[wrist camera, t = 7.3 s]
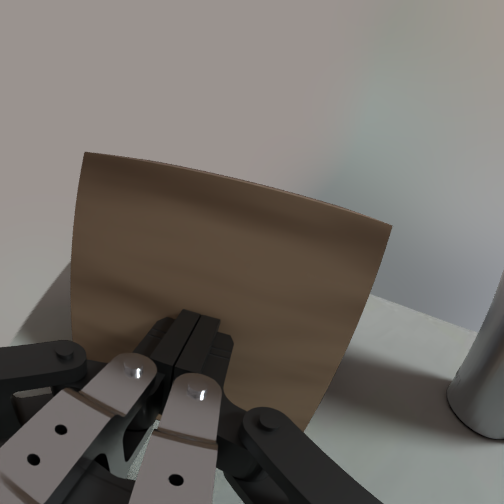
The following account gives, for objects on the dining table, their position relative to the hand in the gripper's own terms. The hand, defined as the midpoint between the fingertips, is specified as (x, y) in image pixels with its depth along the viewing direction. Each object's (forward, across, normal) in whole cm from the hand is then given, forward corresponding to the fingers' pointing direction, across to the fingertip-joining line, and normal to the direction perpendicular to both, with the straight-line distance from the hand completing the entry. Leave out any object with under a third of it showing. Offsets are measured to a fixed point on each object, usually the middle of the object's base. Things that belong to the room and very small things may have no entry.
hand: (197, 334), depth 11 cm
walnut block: (+4, 0, +6) cm, 7 cm away
